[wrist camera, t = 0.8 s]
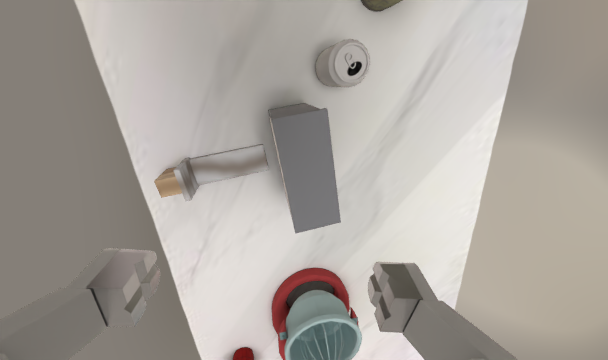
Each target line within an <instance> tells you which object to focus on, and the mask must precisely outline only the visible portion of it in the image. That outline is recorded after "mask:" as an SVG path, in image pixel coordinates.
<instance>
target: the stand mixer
mask: <svg viewBox="0 0 608 360" xmlns="http://www.w3.org/2000/svg"><path fill="white" fill-rule="evenodd" d="M310 281H323V282H326V283H328V284H330V285H331V286H332V287H333V289H334V294H331V293H329V292H326V291H324V290H311V291H308V292H306V293H304V294H302V295H301V296H300V297H298V298H297V300H296V301H295V302H294V303H293V305H292V307H291V309H290V308H289V307H288V305H287V303H286V300H287V297H288V295H289V294H290V292H291V291H293V290H294V289H295V288H296V287H297V286H299V285H301V284H304V283H306V282H310ZM349 309H350V308H349V297H348V293H347V291H346V289H345V286H344V284H343V283H342V281H341V280H340V278H338V277H337V276H336V275H335V274H334V273H332V272H330V271H328V270H325V269H320V268H311V269H305V270H302V271H299V272H297V273H295V274H294V275H292V276H290V277H289V278H288V279H286V280H285V281H284V282H283V284H282V285H281V286H280V287H279V289H278V290H277V292H276V294H275V297H274V299H273V303H272V320H273V327H274V329H275V330H276V332H277V334H278V341H279V353H280V355H281V357H282V359H283V360H351V359H352V358H353V357H354V356H355V355H356V353H357V352H358V350H359V348H360V345H361V341H362V335H361V332H360V329H359V327H358V317H356V314H355V312H354V311H353V309H352V308H351V314H350V316H349V314H348V312H349Z"/></svg>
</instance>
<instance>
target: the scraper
mask: <svg viewBox="0 0 608 360" xmlns="http://www.w3.org/2000/svg"><path fill="white" fill-rule="evenodd" d="M267 170H269V168H268V164H267V160H266V156H265V151H264V147H263V144H260V145H255V146H250V147H246V148H241V149H236V150H231V151H226V152H221V153H216V154H211V155H206V156H202V157H197V158H192V159H190V158H185V159H184V160H183V161H182V162H181V163H180V164H179V165H178V166H177V167H175V168H170V169H166V170H165V171H164V172H163V173H162V174H161V175H160V176H159V177H158V178H157V179H156V180H155V181H154V182H155V184H156V187H157V189H158V191H159V193H160V195H161V198H162V197H167V196H172V195H176V194H181V193H183V196H184V198H185V201H190V200H191V199H192V198H193V196H194V194H195V192H196V190H197V189H198V187H199V185H202V184H207V183H211V182H216V181H221V180H225V179H230V178H235V177H239V176H244V175H248V174H253V173H258V172H262V171H267Z"/></svg>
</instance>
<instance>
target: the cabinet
mask: <svg viewBox="0 0 608 360" xmlns="http://www.w3.org/2000/svg"><path fill="white" fill-rule="evenodd" d="M268 111H269V116H270V123H271V128H272V132H273V137H274V142H275V146H276V151H277V156H278V160H279V165H280V169H281V174H282V179H283V183H284V188H285V193H286V197H287V201H288V205H289V209H290V212H291V216H292V220H293V224H294V229H295V233H299V232H303V231H307V230H311V229H315V228H320V227H324V226H328V225H332V224H336V223H340V222H341V220H340V212H339V203H338V195H337V187H336V178H335V170H334V162H333V153H332V145H331V137H330V128H329V120H328V112H327V108H324V109H319V108H316V107H313V106H311V105H308V104H306V103H302V104H297V105H291V106H286V107H281V108H276V109H270V110H268Z"/></svg>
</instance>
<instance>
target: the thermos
mask: <svg viewBox="0 0 608 360" xmlns="http://www.w3.org/2000/svg"><path fill="white" fill-rule="evenodd" d="M361 1H362V3H363V5H364V6H365V7H367V8H368V9H369V10H372V11H382V10H384V9H386V8H389V7H391V6H393V5H395V4H397V3H399V2H400V1H402V0H361Z"/></svg>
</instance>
